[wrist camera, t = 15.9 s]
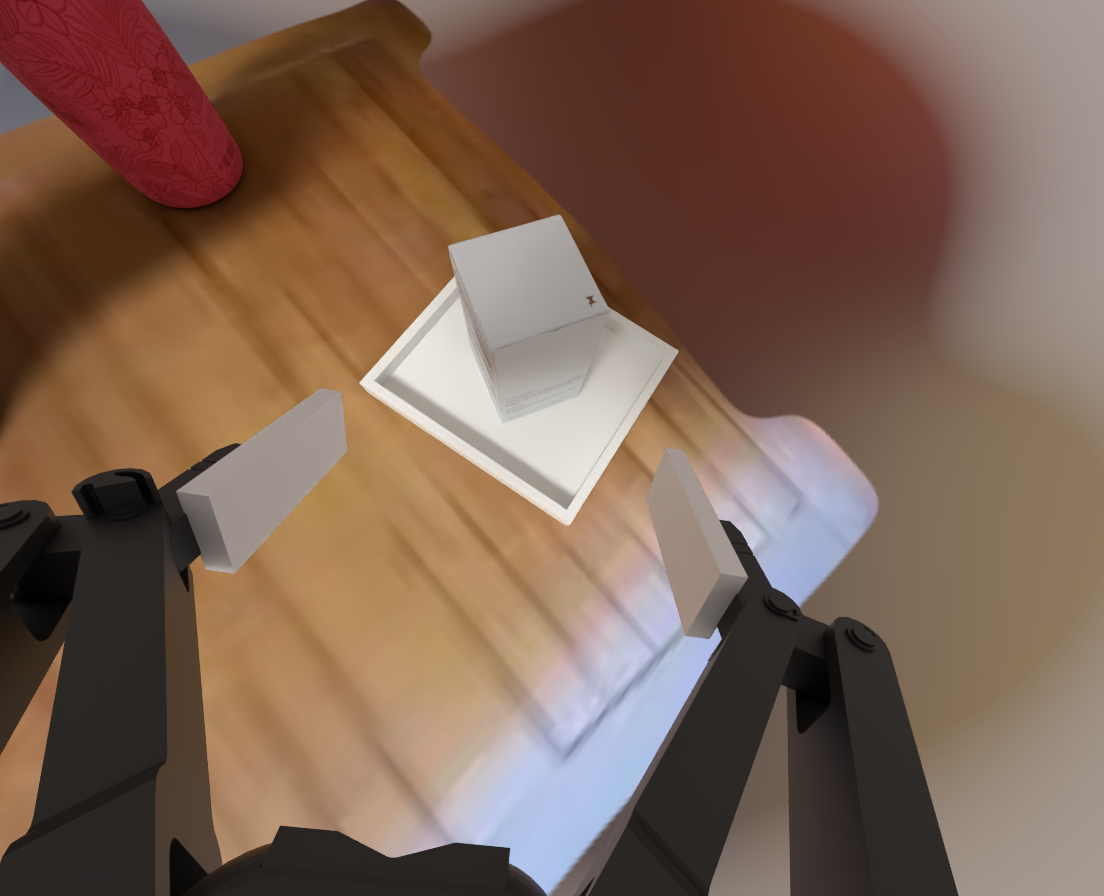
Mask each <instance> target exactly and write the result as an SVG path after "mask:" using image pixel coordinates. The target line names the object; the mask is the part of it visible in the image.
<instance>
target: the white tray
mask: <svg viewBox="0 0 1104 896" xmlns="http://www.w3.org/2000/svg"><path fill="white" fill-rule="evenodd" d="M608 308H609V307H608ZM609 310H610V314H609V317H608V320H607V322H606V325H605V327H604V330H603V333H602V335H601V338H600V340H599V343H598V346H597V348H596V351H595V353H594V356H593V359H592V361H591V364H590V366H589V369H588V371H587V374H586V377H585V379H584V382H583V384H582V387H581V390H580V392H579V395H578V396H577V397H574V398H571V399H569V400H566V401H563V402H561V403H558V404H556V405H553V406H550V407H547V408H545V409H542V410H539V411H537V412H534V413H531V414H529V415H526V416H523V417H521V418H518V419H515V420H512V421H509V422H507V423H504V424H503V423H502V422H501V420H500V418H499V415H498V413H497V411H496V408H495V406H494V404H493V401H492V399H491V396H490V394H489V392H488V389H487V387H486V384H485V382H484V380H483V377H482V375H481V372H480V370H479V367H478V365H477V362H476V360H475V358H474V355H473V353H472V350H471V347H470V342H469V337H468V332H467V328H466V323H465V318H464V314H463V309H462V305H461V300H460V296H459V292H458V288H457V284H456V280H455V276H454V278H453V279H452V280H451V281H450V282H449V283H448V284H447V285H446V286H445V288H444V289H443V290H442V291H441V292H440V293H439V294H438V295H437V297H436V298H435V299H434V300H433V301H432V302H431V303H430V304H429V306H428V307H427V308H426V309H425V310H424V311H423V312H422V313H421V314H420V316H419V317H418V318H417V319H416V320H415V321H414V322H413V323H412V325H411V326H410V327H409V328H408V329H407V330H406V331H405V332H404V333H403V335H402V336H401V337H400V338H399V339H398V340H397V341H396V342H395V344H394V345H393V346H392V347H391V348H390V349H389V350H388V351H387V353H386V354H385V355H384V356H383V357H382V358H381V359H380V360H379V361H378V363H377V364H376V365H375V366H374V367H373V368H372V369H371V370H370V372H369V373H368V374H367V375H366V376H365V377H364V378H363V379H362V380H361V382H360V384H361V385H362V386H363V388H364V389H365V390H366V391H367V392H368V393H369V394H371V395H372V396H374V397H375V398H377V399H378V400H380V401H381V402H383V403H384V404H386V405H387V406H389V407H390V408H392V409H393V410H395V411H396V412H398V413H399V414H401V415H402V416H404V417H405V418H407V419H408V420H410V421H411V422H413V423H414V424H415V425H417V426H418V427H420V428H421V429H423V430H424V431H426V432H427V433H429V434H430V435H432V436H433V437H435V438H436V439H438V440H439V441H441V442H442V443H444V444H445V445H447V446H448V447H450V448H451V449H453V450H454V451H456V452H457V453H459V454H460V455H462V456H463V457H465V458H466V459H468V460H469V461H471V462H472V463H473V464H475V465H476V466H478V467H479V468H481V469H482V470H484V471H485V472H487V473H488V474H490V475H491V476H493V477H494V478H496V479H497V480H499V481H500V482H502V483H503V484H505V485H506V486H508V487H509V488H511V489H512V490H514V491H515V492H517V493H518V494H520V495H521V496H523V497H524V498H526V499H527V500H528V501H530V502H531V503H533V504H534V505H536V506H537V507H539V508H540V509H542V510H543V511H545V512H546V513H548V514H549V515H551V516H552V517H554V518H555V519H557V520H558V521H560V522H561V523H563V524H564V525H566V526H568V525H570V524H571V522H572V520H573V519H574V517H575V516H576V514H577V512H578V511H579V509H580V508H581V506H582V505H583V503H584V501H585V500H586V498H587V497H588V495H589V493H590V492H591V490H592V489H593V487H594V485H595V484H596V482H597V481H598V479H599V478H600V476H601V474H602V473H603V471H604V470H605V468H606V466H607V465H608V463H609V462H610V460H611V458H612V457H613V455H614V454H615V452H616V451H617V449H618V447H619V446H620V444H621V443H622V441H623V439H624V438H625V436H626V435H627V433H628V431H629V430H630V428H631V427H632V425H633V424H634V422H635V420H636V419H637V417H638V416H639V414H640V412H641V411H642V409H643V408H644V406H645V404H646V403H647V401H648V400H649V398H650V397H651V395H652V393H653V392H654V390H655V389H656V387H657V385H658V384H659V382H660V381H661V379H662V377H663V376H664V374H665V373H666V371H667V370H668V368H669V366H670V365H671V363H672V362H673V360H674V358H675V357H676V355H677V354H678V352H679V351H678V350H676V349H675V348H673V347H672V346H670V345H668V344H667V343H665V342H664V341H662V340H660V339H659V338H657V337H656V336H654V335H652V334H651V333H649V332H648V331H646V330H644V329H643V328H641V327H640V326H638V325H636V324H635V323H633V322H632V321H630V320H628V319H627V318H625V317H624V316H622V315H620V314H619V313H617V312H616V311H614V310H612V309H611V308H609Z"/></svg>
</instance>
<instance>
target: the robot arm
mask: <svg viewBox="0 0 1104 896" xmlns="http://www.w3.org/2000/svg"><path fill="white" fill-rule="evenodd" d="M346 452H347V445H346V435H345V425H344V415H343V406H342V396H341V392H340V391H334V390H329V389H323V388H320V389H319V390H318V391H316V392H315V393H313V394H312V395H311V396H309V397H308V398H306V399H305V400H304V401H302V402H301V403H299V404H298V405H297V406H295V407H294V408H292V409H291V410H290V411H288V412H287V413H285V414H284V415H283V416H281V417H280V418H278V419H277V420H276V421H274V422H273V423H271V424H270V425H268V426H267V427H266V428H264V429H263V430H261V431H260V432H259V433H257V434H256V435H254V436H253V437H252V438H250V439H249V440H247V441H246V442H245V443H243V444H237V443H234V444H232V445H229V446H226V447H224V448H221V449H219V450H216V451H215V452H213V453H212V454H210V455H209V456H207V457H206V458H204V459H203V460H202V462H198V463H197V464H195V465H194V466H192V467H191V469H190V470H186V471H185V472H184V473H182V474H181V475H179V476H178V477H176V478H175V479H173V480H172V481H170V482H169V483H167V484H166V485H164V486H163V487H161V488H160V489H158V490H157V488H156V485H155V483H154V480H153V478H152V476H151V474H150V472H147V471H145V470H142V469H132V468H128V469H117V470H112V471H107V472H103V473H99V474H97V475H94V476H92V477H89V478H87V479H85V480H83V481H82V482H80V483H79V484H77V485H76V486H75V487H74V489H73V490H72V494H73V496H74V498H75V499H76V501H77V503H78V505H79V507H80V508H81V510H82V512H83V514H84V515H69V516H55V515H54V513H53V511H52V510H51V508H50V507H49V505H48V504H47V503H45V502H41V501H37V500H22V501H16V502H10V503H3V504H0V755H1V753H2V751H3V750H4V748H5V746H6V744H7V742H8V741H9V739H10V737H11V735H12V733H13V732H14V730H15V728H16V726H17V725H18V723H19V721H20V719H21V717H22V716H23V714H24V712H25V710H26V709H27V707H28V705H29V703H30V701H31V700H32V698H33V696H34V694H35V693H36V691H37V689H38V687H39V685H40V684H41V682H42V680H43V678H44V676H45V675H46V673H47V671H48V669H49V668H50V666H51V664H52V662H53V660H54V659H55V657H56V655H57V653H58V652H59V650H60V648H61V646H62V644H63V643H64V641H65V643H64V649H63V655H62V660H61V666H60V671H59V677H58V682H57V688H56V694H55V699H54V705H53V710H52V716H51V722H50V727H49V733H48V738H47V744H46V749H45V755H44V761H43V766H42V772H41V777H40V783H39V788H38V794H37V800H36V805H35V811H34V816H33V820H32V823H31V827H30V828H29V830H28V832H27V833H26V835H24V836H22V837H21V838H19V839H18V840H16V841H14V842H13V843H11V844H10V846H9V847H8V849H7V850H6V852H5V854H4V855H3V857H2V859H1V862H0V896H547V895H546V893H545V892H544V891H543V889H542V888H541V887H540V886H539V885H538V884H537V883H536V882H535V881H534V880H533V879H532V878H531V877H530V876H528V875H527V874H526V873H524V872H523V871H522V870H520V869H519V868H517V867H515V866H513V865H511V864H509V854H510V848H505V847H495V846H484V845H474V844H464V843H452V844H448V845H444V846H440V847H437V848H433V849H429V850H425V851H421V852H417V853H413V854H409V855H405V856H401V857H397V858H390V857H387V856H385V855H383V854H381V853H379V852H377V851H375V850H373V849H371V848H369V847H367V846H366V845H364V844H362V843H360V842H358V841H356V840H354V839H352V838H350V837H348V836H346V835H344V834H342V833H340V832H338V831H330V830H319V829H309V828H299V827H288V826H280V827H279V829H278V832H277V834H276V836H275V838H274V840H273V842H272V843H271V844H267V845H264V846H261V847H259V848H256V849H253V850H251V851H248V852H246V853H244V854H242V855H240V856H238V857H236V858H234V859H232V860H230V861H229V862H227V863H225V864H224V865H222V859H221V854H220V849H219V845H218V841H217V838H216V835H215V831H214V826H213V820H212V811H211V798H210V786H209V773H208V761H207V749H206V736H205V724H204V712H203V699H202V687H201V674H200V662H199V650H198V637H197V625H196V612H195V600H194V588H193V575H192V571H191V569H190V567H189V565H190V564H191V563H192V562H193V561H194V560H195V559H196V558H197V557H198V556H199V555H201V557H202V560H203V563H204V565H205V568H206V569H207V570H214V571H221V572H228V573H236V571H237V570H238V569H239V568H240V567H241V566H242V565H243V564H244V563H245V562H246V561H247V560H248V558H249V557H250V556H251V555H252V554H253V553H254V552H255V551H256V550H257V549H258V548H259V546H260V545H261V544H262V543H263V542H264V541H265V540H266V539H267V538H268V537H269V536H270V534H271V533H272V532H273V531H274V530H275V529H276V528H277V527H278V526H279V525H280V524H281V523H282V521H283V520H284V519H285V518H286V517H287V516H288V515H289V514H290V513H291V512H292V511H293V509H294V508H295V507H296V506H297V505H298V504H299V503H300V502H301V501H302V500H303V499H304V498H305V496H306V495H307V494H308V493H309V492H310V491H311V490H312V489H313V488H314V487H315V486H316V484H317V483H318V482H319V481H320V480H321V479H322V478H323V477H324V476H325V475H326V474H327V472H328V471H329V470H330V469H331V468H332V467H333V466H334V465H335V464H336V463H337V462H338V461H339V459H340V458H341V457H342V456H343V455H344V454H345V453H346ZM646 502H647V505H648V509H649V512H650V516H651V519H652V522H653V526H654V529H655V533H656V536H657V540H658V543H659V547H660V550H661V554H662V557H663V561H664V564H665V568H666V571H667V574H668V578H669V581H670V585H671V588H672V592H673V595H674V599H675V602H676V606H677V609H678V613H679V616H680V620H681V623H682V626H683V630H684V633H685V636H691V637H698V638H705V639H710V637H711V636H712V634H713V632H714V631H715V629H716V628H717V627H718V630H719V632H720V635H721V638H722V640H721V641H720V643H719V644H718V646H717V647H716V649H715V650H714V652H713V653H712V655H711V657H710V658H709V660H708V661H709V662H708V664H707V665H706V667H705V669H704V671H703V672H702V674H701V676H700V678H699V679H698V681H697V683H696V685H695V686H694V688H693V690H692V692H691V693H690V695H689V697H688V699H687V700H686V702H685V704H684V706H683V707H682V709H681V711H680V713H679V715H678V716H677V718H676V720H675V722H674V723H673V725H672V727H671V729H670V730H669V732H668V734H667V736H666V737H665V739H664V741H663V743H662V744H661V746H660V748H659V750H658V751H657V753H656V755H655V757H654V758H653V760H652V762H651V764H650V765H649V767H648V769H647V771H646V772H645V774H644V776H643V778H642V780H641V781H640V783H639V785H638V787H637V788H636V790H635V792H634V794H633V795H632V797H631V799H630V801H629V802H628V804H627V806H626V808H625V809H624V811H623V813H622V815H621V817H620V818H619V820H618V822H617V824H616V825H615V827H614V829H613V831H612V832H611V834H610V836H609V837H608V839H607V841H606V843H605V845H604V846H603V848H602V850H601V852H600V854H599V855H598V857H597V859H596V860H595V862H594V864H593V865H592V867H591V869H590V870H589V872H588V873H587V875H586V877H585V878H584V880H583V881H582V883H581V885H580V886H579V888H578V890H577V891H576V893H575V895H574V896H708V893H709V888H710V884H711V881H712V878H713V875H714V873H715V870H716V867H717V864H718V861H719V858H720V855H721V853H722V850H723V847H724V844H725V841H726V839H727V835H728V833H729V830H730V827H731V824H732V822H733V819H734V816H735V813H736V810H737V807H738V805H739V802H740V799H741V796H742V793H743V790H744V788H745V785H746V782H747V779H748V776H749V773H750V771H751V768H752V765H753V762H754V759H755V756H756V753H757V751H758V748H759V745H760V742H761V739H762V737H763V733H764V731H765V728H766V725H767V722H768V720H769V716H770V714H771V711H772V708H773V705H774V702H775V700H776V697H777V694H778V691H779V688H780V686H781V685H783V686H786V687H787V719H788V721H787V722H788V774H789V830H790V831H789V832H790V834H789V835H790V888H791V889H790V890H791V896H958V892H957V889H956V885H955V882H954V878H953V875H952V871H951V867H950V864H949V860H948V857H947V854H946V850H945V846H944V843H943V839H942V836H941V832H940V828H939V825H938V821H937V818H936V814H935V811H934V807H933V804H932V800H931V797H930V793H929V790H928V786H927V783H926V779H925V776H924V772H923V769H922V765H921V761H920V758H919V754H918V751H917V747H916V743H915V740H914V736H913V733H912V730H911V726H910V722H909V719H908V715H907V711H906V708H905V704H904V701H903V697H902V694H901V690H900V687H899V684H898V680H897V676H896V672H895V669H894V665H893V662H892V658H891V655H890V652H889V650H888V648H887V646H886V644H885V643H884V642H883V640H882V639H881V638H880V637H879V636H878V635H877V634H876V633H875V632H874V631H872V630H871V629H870V628H869V627H867V626H865V625H864V624H862V623H860V622H859V621H857V620H853V619H851V618H848V617H839V618H837V619H836V620H834V621H833V623H832V624H831V625H830V626H829V625H826V624H824V623H821V622H819V621H816V620H814V619H811V618H808V617H806V616H804V615H802V612H801V610H800V608H799V607H798V606H797V605H796V603H795V602H794V601H793V600H792V599H791V598H789V597H788V596H787V595H785V594H784V593H782V592H780V591H778V590H776V589H774V588H772V587H771V585H770V583H769V581H768V579H767V578H766V576H765V574H764V572H763V570H762V569H761V567H760V565H759V563H758V561H757V560H756V558H755V556H753V553H752V551H751V549H750V547H749V546H748V544H747V542H746V540H745V538H744V536H743V535H742V533H741V532H740V531H739V530H738V529H737V528H736V527H735V526H734V525H733V524H732V523H731V522H730V521H724V520H719V519H718V517H717V515H716V513H715V511H714V509H713V507H712V505H711V503H710V501H709V499H708V497H707V495H706V493H705V492H704V490H703V488H702V486H701V484H700V482H699V480H698V478H697V476H696V474H695V472H694V470H693V468H692V466H691V464H690V462H689V460H688V458H687V456H686V454H685V452H684V450H678V449H672V448H667V447H666V448H665V451H664V453H663V456H662V458H661V461H660V464H659V466H658V469H657V472H656V474H655V477H654V479H653V482H652V485H651V487H650V490H649V492H648V495H647V498H646Z"/></svg>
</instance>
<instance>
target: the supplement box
mask: <svg viewBox="0 0 1104 896" xmlns="http://www.w3.org/2000/svg"><path fill="white" fill-rule="evenodd" d="M448 249H449V254H450V259H451V263H452V267H453V271H454V275H455V280H456V284H457V288H458V292H459V296H460V300H461V305H462V309H463V314H464V318H465V323H466V328H467V332H468V337H469V342H470V347H471V350H472V353H473V355H474V358H475V360H476V362H477V365H478V367H479V370H480V372H481V375H482V377H483V380H484V382H485V384H486V387H487V389H488V392H489V394H490V396H491V399H492V401H493V404H494V406H495V408H496V411H497V413H498V415H499V418H500V420H501V422H502V423H503V424H504V423H507V422H509V421H512V420H515V419H518V418H521V417H523V416H526V415H529V414H531V413H534V412H537V411H539V410H542V409H545V408H547V407H550V406H553V405H556V404H558V403H561V402H563V401H566V400H569V399H571V398H574V397H577V396H578V395H579V392H580V390H581V387H582V384H583V382H584V379H585V377H586V374H587V371H588V369H589V366H590V364H591V361H592V359H593V356H594V353H595V351H596V348H597V346H598V343H599V340H600V338H601V335H602V333H603V330H604V327H605V325H606V322H607V320H608V317H609V314H610V310H609V308H608V306H607V304H606V302H605V300H604V299H603V297H602V295H601V293H600V291H599V289H598V287H597V285H596V283H595V281H594V279H593V277H592V275H591V273H590V271H589V269H588V267H587V265H586V263H585V262H584V260H583V258H582V256H581V254H580V252H579V250H578V248H577V246H576V244H575V242H574V240H573V238H572V236H571V234H570V232H569V230H568V228H567V226H566V224H565V222H564V220H563V219H562V217H561V215H555V216H552V217H548V218H545V219H541V220H538V221H534V222H531V223H527V224H524V225H520V226H517V227H513V228H509V229H506V230H502V231H499V232H495V233H491V234H488V235H484V236H481V237H477V238H473V239H470V240H466V241H463V242H459V243H455V244H451V245H449V246H448Z"/></svg>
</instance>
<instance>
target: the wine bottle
mask: <svg viewBox="0 0 1104 896" xmlns="http://www.w3.org/2000/svg"><path fill="white" fill-rule="evenodd" d="M0 62H1V63H2V64H3V65H4V66H5V67H6V68H7V69H8V70H9V71H10V72H11V73H12V74H13V75H14V76H15V77H16V78H17V79H18V80H19V81H20V82H21V83H22V84H23V85H24V86H25V87H26V88H27V89H28V90H29V91H31V92H32V93H33V94H34V95H35V96H36V97H37V98H38V99H39V100H40V101H41V102H42V103H43V104H44V105H45V106H46V107H47V108H48V109H49V110H50V111H52V112H53V113H54V114H55V115H56V116H57V117H58V118H59V119H60V120H61V121H62V122H63V123H64V124H65V125H66V126H68V127H69V128H70V129H71V130H72V131H73V132H74V133H75V134H76V135H77V136H78V137H79V138H80V139H82V140H83V141H84V142H85V143H86V144H87V145H88V146H89V147H90V148H91V149H92V150H93V151H95V152H96V153H97V154H98V155H99V156H100V157H101V158H102V159H103V160H104V161H105V162H107V163H108V164H109V165H110V166H111V167H112V168H113V169H114V170H115V171H117V172H118V173H119V174H120V175H121V176H122V177H123V178H124V179H126V180H127V181H128V182H129V183H130V184H131V185H132V186H133V187H135V188H136V189H137V190H138V191H140V192H141V193H142V194H144V195H145V196H146V197H148V198H150V199H152V200H153V201H155V202H158V203H161V204H164V205H167V206H171V207H177V208H193V207H200V206H204V205H208V204H211V203H213V202H216V201H218V200H219V199H221V198H223V197H224V196H226V195H227V194H228V193H229V192H231V191H232V190H233V189H234V187H235V186H236V185H237V183H238V182H239V180H240V178H241V175H242V171H243V160H242V155H241V152H240V150H239V147H238V146H237V144H236V142H235V140H234V138H233V137H232V135H231V133H230V132H229V130H228V129H227V127H226V125H225V124H224V122H223V121H222V119H221V118H220V116H219V114H218V113H217V111H216V110H215V108H214V107H213V105H212V104H211V102H210V100H209V99H208V97H207V96H206V94H205V93H204V91H203V90H202V88H201V87H200V85H199V84H198V82H197V81H196V79H195V78H194V76H193V75H192V73H191V72H190V70H189V68H188V67H187V65H186V64H185V63H184V61H183V60H182V58H181V57H180V55H179V53H178V52H177V51H176V49H175V48H174V46H173V45H172V43H171V42H170V40H169V39H168V37H167V36H166V34H165V33H164V32H163V30H162V28H161V27H160V26H159V24H158V23H157V21H156V20H155V18H154V17H153V16H152V14H151V13H150V12H149V10H148V9H147V7H146V6H145V5H144V3H143V2H142V0H0Z"/></svg>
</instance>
